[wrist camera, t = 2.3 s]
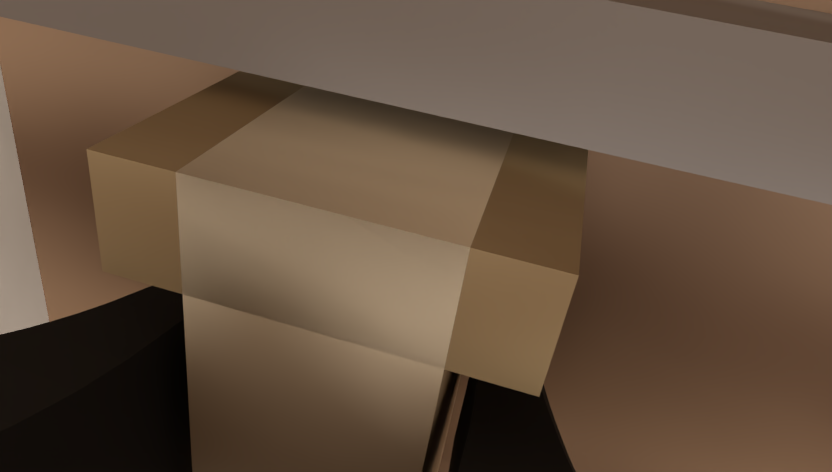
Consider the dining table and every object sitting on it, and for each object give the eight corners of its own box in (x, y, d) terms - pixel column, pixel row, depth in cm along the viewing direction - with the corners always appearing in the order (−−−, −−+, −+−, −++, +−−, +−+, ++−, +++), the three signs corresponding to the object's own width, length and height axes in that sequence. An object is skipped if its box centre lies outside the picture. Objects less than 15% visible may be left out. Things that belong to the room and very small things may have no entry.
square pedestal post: (485, 475, 14) (438, 705, 10) (268, 407, 14) (144, 597, 11) (591, 118, 10) (579, 276, 6) (279, 50, 10) (86, 150, 7)
